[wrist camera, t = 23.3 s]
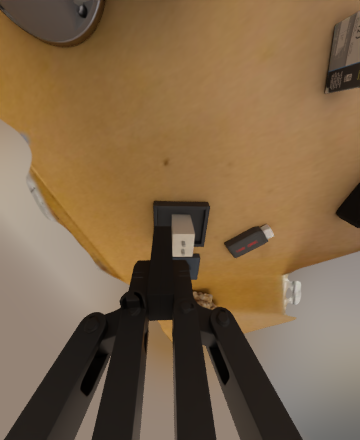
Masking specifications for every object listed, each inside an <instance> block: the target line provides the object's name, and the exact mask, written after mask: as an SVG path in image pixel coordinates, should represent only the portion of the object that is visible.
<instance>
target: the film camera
mask: <svg viewBox="0 0 360 440" xmlns="http://www.w3.org/2000/svg"><path fill="white" fill-rule="evenodd" d="M337 215H338V216H339V218H341V219H343V220H344V221H346V222H348V223H350V224H352V225H354V226H355V227H357V228H360V183H359V185H358V186H357V187H356V188H355V189H354V191H353V192H352V193H351V194H350V195H349V197H348V198H347V199H346V200H345V201H344V203H343V204H342V205H341V207H340V208H339V209H338V210H337Z"/></svg>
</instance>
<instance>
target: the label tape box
mask: <svg viewBox="0 0 360 440" xmlns="http://www.w3.org/2000/svg"><path fill="white" fill-rule="evenodd" d="M359 87H360V11H358V12H356V13H355V14H353V15H351V16H349V17H348V18H346V19H344V20H343V21H341V22H339V23H338V24H336V25H335V31H334V38H333V45H332V51H331V58H330V65H329V71H328V78H327V84H326V91H325V94H326V93H332V92H338V91H344V90H349V89H354V88H359Z"/></svg>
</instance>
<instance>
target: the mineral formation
mask: <svg viewBox="0 0 360 440" xmlns="http://www.w3.org/2000/svg"><path fill="white" fill-rule="evenodd" d="M193 296H194V299H195V301H196V302H197V303H198V304H199V305H200V306H202V307H205V308H208V309H211V310H213V309H215V308H216V307H217V306H216V305H215V304H214V303H213V302H212V297H213V296H212V295H211V294H208V293H207V294H206V293H204V294H203V293H202V292H199V293H197V292H193Z"/></svg>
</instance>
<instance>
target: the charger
mask: <svg viewBox="0 0 360 440" xmlns="http://www.w3.org/2000/svg"><path fill="white" fill-rule="evenodd" d="M194 238H195V232H194V228H193V224H192V220H191V216H190V215H184V214H172V254H173V257H192V256H193V247H194Z"/></svg>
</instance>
